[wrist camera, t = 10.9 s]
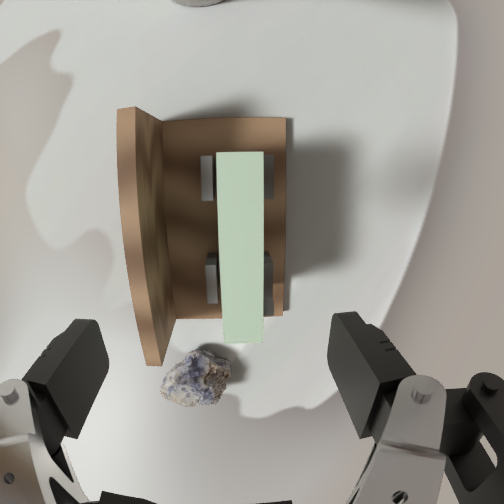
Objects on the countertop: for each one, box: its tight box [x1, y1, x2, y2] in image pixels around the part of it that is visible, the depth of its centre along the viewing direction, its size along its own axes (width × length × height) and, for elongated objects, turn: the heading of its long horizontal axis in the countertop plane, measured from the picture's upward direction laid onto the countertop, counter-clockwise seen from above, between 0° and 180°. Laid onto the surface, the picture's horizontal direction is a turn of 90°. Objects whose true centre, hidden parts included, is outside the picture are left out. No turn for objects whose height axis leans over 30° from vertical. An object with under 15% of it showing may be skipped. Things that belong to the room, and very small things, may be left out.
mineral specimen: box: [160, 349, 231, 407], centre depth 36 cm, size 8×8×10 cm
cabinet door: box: [216, 152, 274, 344], centre depth 25 cm, size 14×4×11 cm, turn 1°
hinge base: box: [117, 107, 286, 366], centre depth 27 cm, size 22×14×10 cm, turn 1°
